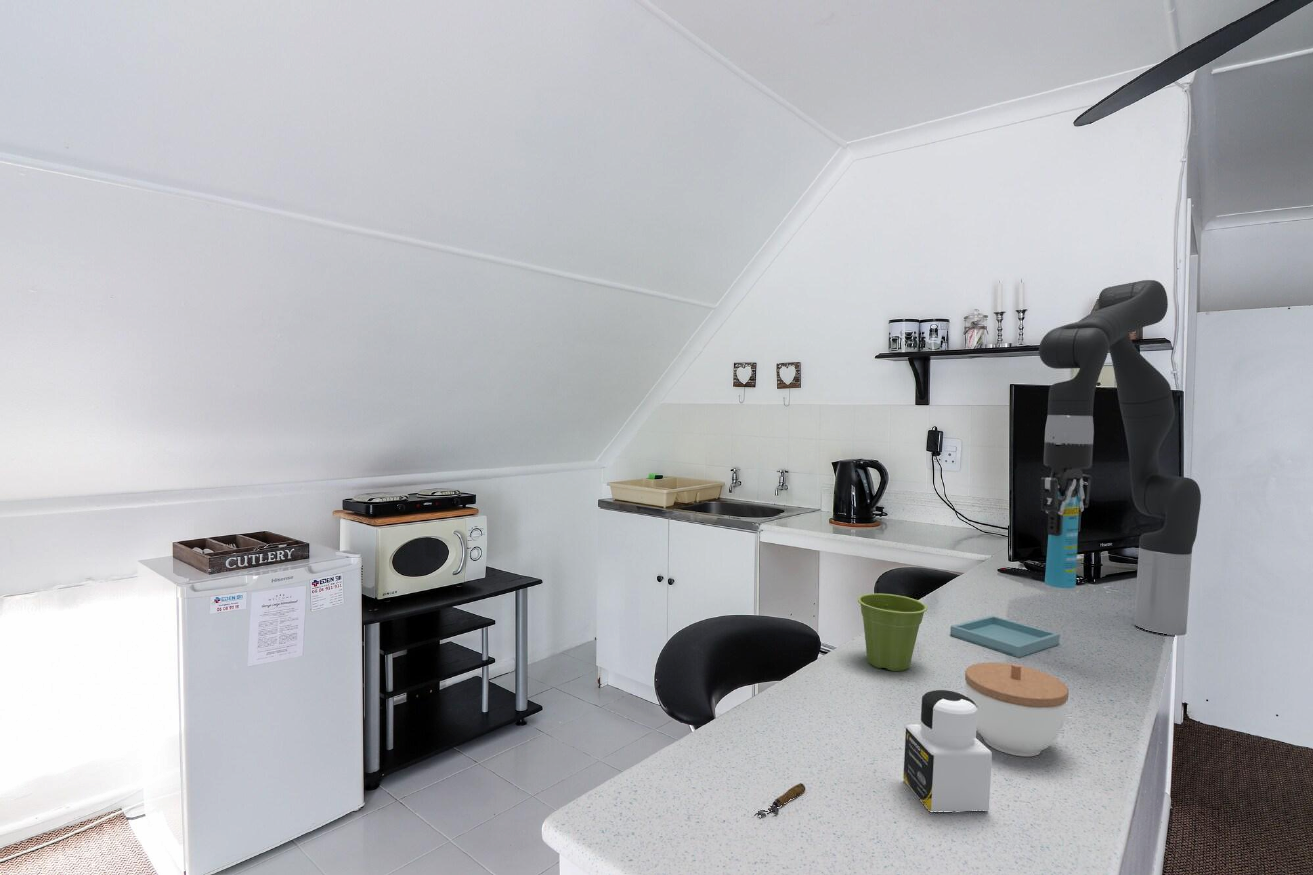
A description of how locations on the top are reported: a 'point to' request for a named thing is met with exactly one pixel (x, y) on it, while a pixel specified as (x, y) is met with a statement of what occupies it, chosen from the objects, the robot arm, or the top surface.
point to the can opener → (785, 798)
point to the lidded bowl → (1016, 706)
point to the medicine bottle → (947, 755)
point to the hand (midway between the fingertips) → (1063, 532)
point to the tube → (1064, 549)
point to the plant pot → (890, 629)
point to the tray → (1005, 636)
